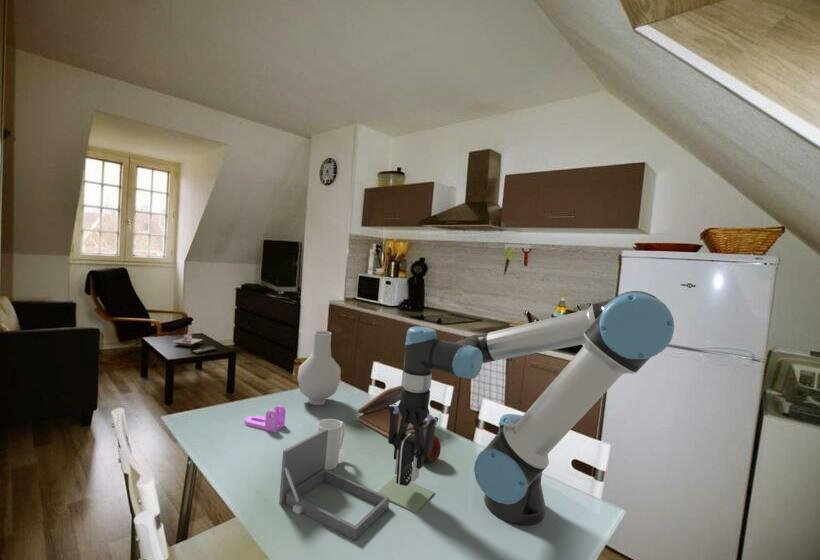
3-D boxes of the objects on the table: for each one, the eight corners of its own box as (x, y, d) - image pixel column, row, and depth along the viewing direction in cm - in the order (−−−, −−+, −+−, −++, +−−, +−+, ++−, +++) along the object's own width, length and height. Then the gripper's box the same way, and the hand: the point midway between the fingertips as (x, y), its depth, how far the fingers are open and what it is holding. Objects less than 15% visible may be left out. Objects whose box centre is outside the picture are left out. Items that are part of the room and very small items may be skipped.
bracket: (284, 425, 135) (285, 406, 134) (274, 432, 130) (275, 412, 129) (252, 418, 138) (253, 398, 138) (241, 424, 133) (242, 404, 133)
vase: (288, 406, 151) (293, 333, 149) (306, 391, 167) (311, 326, 165) (329, 413, 148) (335, 339, 146) (344, 398, 164) (349, 331, 163)
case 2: (393, 407, 160) (397, 368, 159) (432, 426, 146) (436, 383, 145) (353, 419, 146) (356, 377, 144) (392, 442, 131) (396, 395, 130)
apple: (444, 461, 121) (447, 436, 121) (428, 469, 116) (430, 443, 115) (426, 451, 126) (428, 427, 126) (409, 459, 121) (412, 433, 120)
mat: (434, 493, 104) (434, 491, 104) (416, 513, 96) (416, 512, 96) (395, 477, 110) (395, 476, 110) (375, 495, 101) (375, 493, 101)
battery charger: (409, 489, 99) (412, 444, 98) (395, 485, 100) (398, 441, 100) (418, 475, 105) (422, 433, 105) (405, 472, 107) (408, 430, 106)
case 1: (390, 505, 98) (394, 455, 97) (352, 543, 84) (357, 484, 83) (322, 474, 108) (325, 428, 107) (278, 503, 95) (282, 450, 94)
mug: (327, 473, 109) (330, 431, 108) (309, 465, 112) (312, 424, 111) (350, 459, 117) (354, 420, 117) (333, 451, 121) (336, 413, 120)
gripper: (452, 392, 100) (442, 480, 102) (394, 376, 108) (386, 458, 110) (440, 400, 94) (430, 495, 95) (379, 382, 102) (371, 470, 103)
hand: (406, 475), depth 103 cm, fingers closed on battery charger, 4 cm apart
